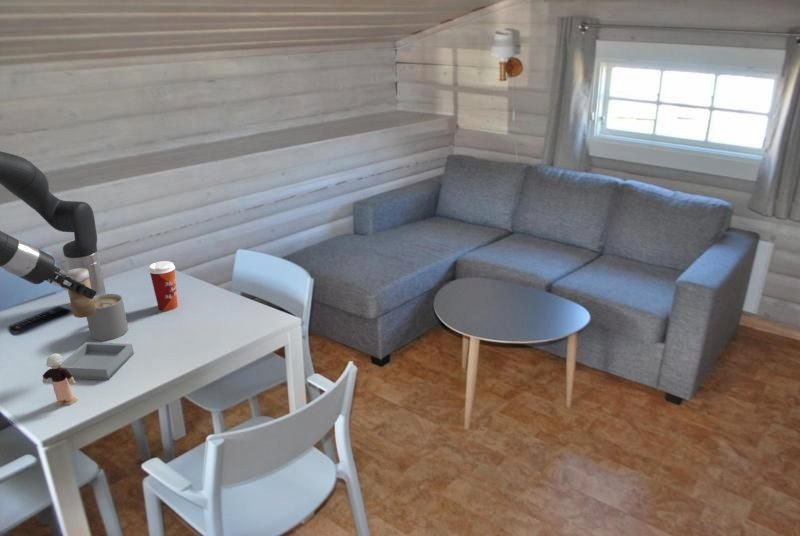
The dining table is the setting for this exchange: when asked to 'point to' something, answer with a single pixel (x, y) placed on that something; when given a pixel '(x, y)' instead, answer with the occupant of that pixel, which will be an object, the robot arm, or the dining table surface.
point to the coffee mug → (108, 318)
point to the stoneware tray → (97, 360)
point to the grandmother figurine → (59, 380)
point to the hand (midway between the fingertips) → (88, 292)
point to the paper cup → (164, 284)
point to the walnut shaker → (79, 302)
